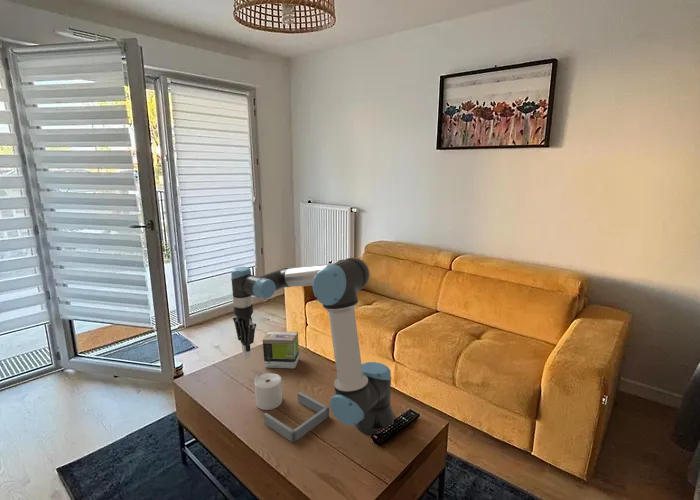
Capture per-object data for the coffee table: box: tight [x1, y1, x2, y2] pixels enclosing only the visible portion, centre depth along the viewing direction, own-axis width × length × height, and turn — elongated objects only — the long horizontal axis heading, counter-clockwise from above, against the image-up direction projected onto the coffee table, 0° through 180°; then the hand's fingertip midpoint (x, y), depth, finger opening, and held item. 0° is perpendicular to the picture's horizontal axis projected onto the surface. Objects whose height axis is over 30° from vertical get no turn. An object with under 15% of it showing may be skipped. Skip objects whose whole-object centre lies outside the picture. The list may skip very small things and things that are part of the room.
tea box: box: [262, 330, 300, 369], centre depth 187 cm, size 15×10×15 cm, turn 84°
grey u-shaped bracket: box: [263, 391, 330, 444], centre depth 148 cm, size 16×18×4 cm
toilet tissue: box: [253, 373, 283, 411], centre depth 158 cm, size 11×12×10 cm
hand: (246, 357), depth 163 cm, fingers closed
